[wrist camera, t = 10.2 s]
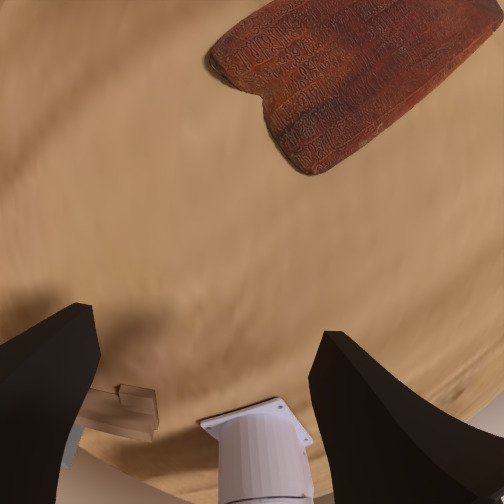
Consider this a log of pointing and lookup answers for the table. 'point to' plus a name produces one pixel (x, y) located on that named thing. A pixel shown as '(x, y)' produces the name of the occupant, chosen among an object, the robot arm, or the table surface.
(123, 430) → the walnut slotted stand
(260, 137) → the table surface
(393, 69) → the wooden tablet
